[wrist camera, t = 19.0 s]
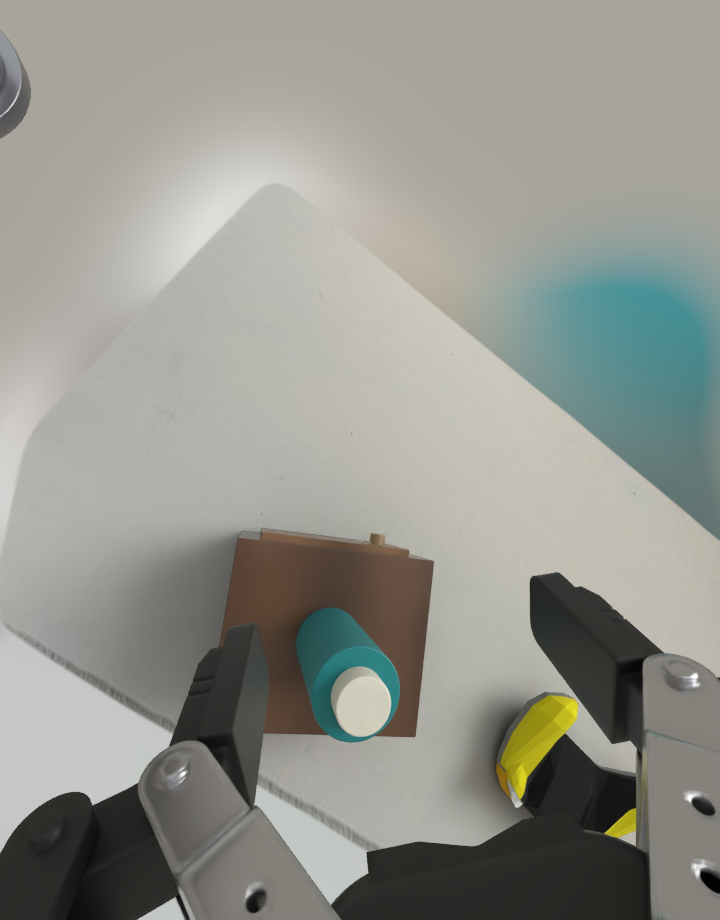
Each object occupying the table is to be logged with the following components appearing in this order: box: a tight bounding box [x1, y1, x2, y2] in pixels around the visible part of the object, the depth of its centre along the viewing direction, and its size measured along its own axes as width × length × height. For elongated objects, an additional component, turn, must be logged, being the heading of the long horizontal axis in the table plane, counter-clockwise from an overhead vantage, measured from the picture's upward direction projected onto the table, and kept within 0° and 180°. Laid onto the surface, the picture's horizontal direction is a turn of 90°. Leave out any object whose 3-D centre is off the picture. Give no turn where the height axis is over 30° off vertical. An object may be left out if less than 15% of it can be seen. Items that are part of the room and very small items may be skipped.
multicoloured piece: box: [496, 692, 636, 838], centre depth 39 cm, size 15×6×10 cm
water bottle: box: [296, 608, 400, 742], centre depth 24 cm, size 4×4×10 cm
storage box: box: [219, 528, 434, 737], centre depth 33 cm, size 14×13×9 cm
